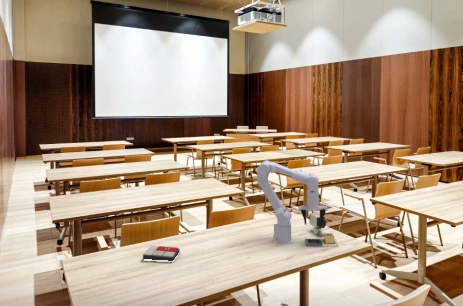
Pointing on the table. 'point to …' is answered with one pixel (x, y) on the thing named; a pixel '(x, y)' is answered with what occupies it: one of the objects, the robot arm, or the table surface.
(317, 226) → the pneumatic valve
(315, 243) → the tray
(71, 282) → the table surface
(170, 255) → the grey and red box
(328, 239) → the brass cube with hole
